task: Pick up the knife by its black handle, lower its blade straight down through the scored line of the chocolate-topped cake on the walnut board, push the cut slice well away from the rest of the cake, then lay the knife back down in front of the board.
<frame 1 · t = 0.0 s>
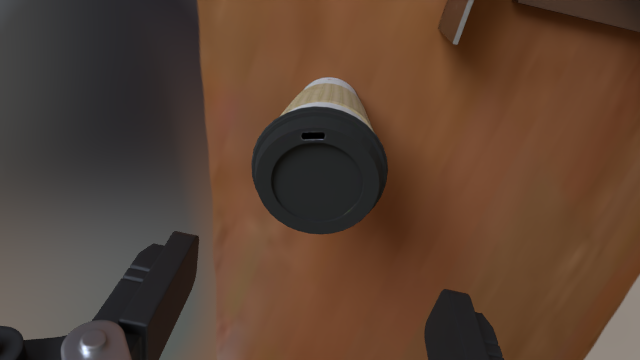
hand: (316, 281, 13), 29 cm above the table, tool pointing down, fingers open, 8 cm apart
coffee cup: (329, 107, 41), on the table
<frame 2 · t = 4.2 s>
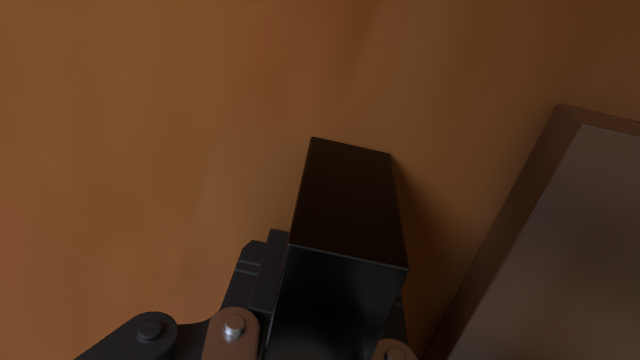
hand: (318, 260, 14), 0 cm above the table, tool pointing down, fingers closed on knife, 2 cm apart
knife: (319, 258, 14), on the table, touching gripper
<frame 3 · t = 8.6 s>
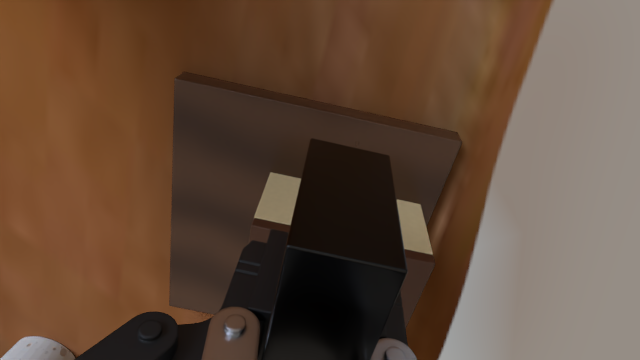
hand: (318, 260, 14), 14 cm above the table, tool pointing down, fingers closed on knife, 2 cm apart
cake slice: (280, 244, 31), point 1 cm above the table, touching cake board
coffee cup: (47, 355, 43), on the table
knife: (319, 259, 14), point 14 cm above the table, touching gripper
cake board: (295, 224, 32), on the table
cake: (358, 261, 31), point 1 cm above the table, touching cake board
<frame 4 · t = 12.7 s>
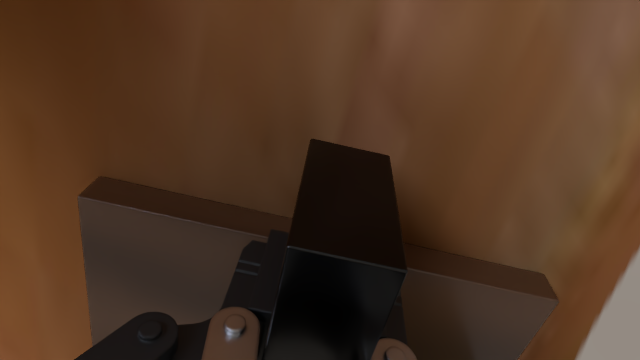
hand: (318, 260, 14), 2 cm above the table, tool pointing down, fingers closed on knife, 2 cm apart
knife: (319, 260, 14), point 2 cm above the table, touching cake slice, gripper
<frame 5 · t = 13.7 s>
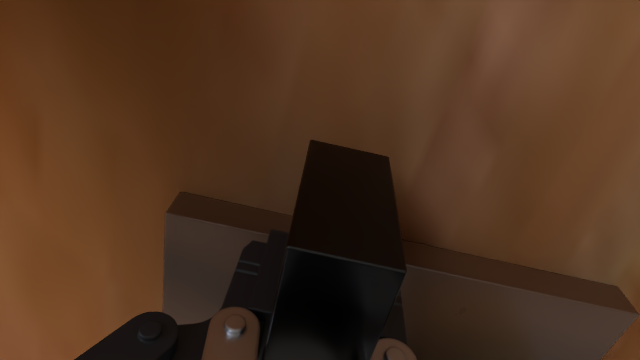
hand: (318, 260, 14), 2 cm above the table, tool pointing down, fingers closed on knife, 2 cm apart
knife: (319, 261, 14), point 2 cm above the table, touching cake slice, gripper
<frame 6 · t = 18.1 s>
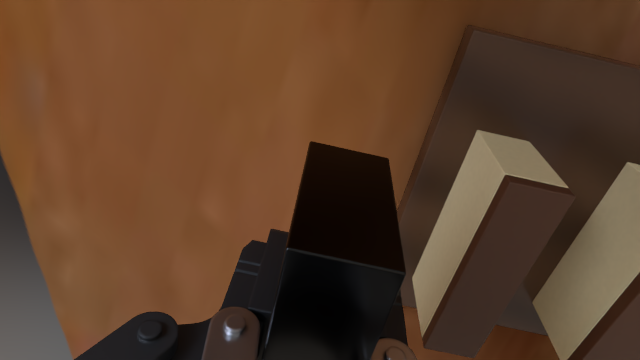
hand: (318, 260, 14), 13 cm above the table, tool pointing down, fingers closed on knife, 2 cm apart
cake slice: (464, 217, 27), point 1 cm above the table, touching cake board
knife: (318, 262, 14), point 13 cm above the table, touching gripper
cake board: (537, 207, 28), on the table
cake: (614, 248, 27), point 1 cm above the table, touching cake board
when the fingers open (0 cm above the table, at t = 21.3 s): knife stays where it is, on the table.
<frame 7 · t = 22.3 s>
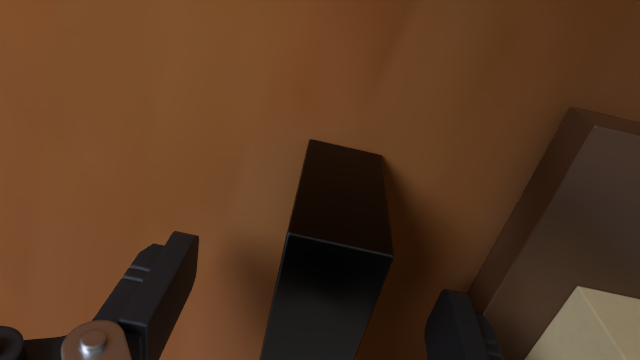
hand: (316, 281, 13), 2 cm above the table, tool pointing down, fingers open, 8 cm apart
knife: (317, 252, 15), on the table
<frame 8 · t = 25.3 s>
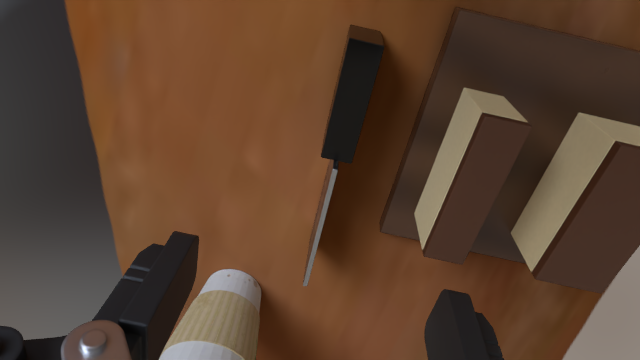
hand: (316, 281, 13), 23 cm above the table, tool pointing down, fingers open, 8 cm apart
cake slice: (455, 159, 35), point 1 cm above the table, touching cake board
coffee cup: (234, 288, 46), on the table
knife: (351, 84, 34), on the table
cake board: (513, 153, 35), on the table
cake: (573, 184, 35), point 1 cm above the table, touching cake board
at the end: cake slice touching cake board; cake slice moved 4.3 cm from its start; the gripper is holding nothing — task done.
